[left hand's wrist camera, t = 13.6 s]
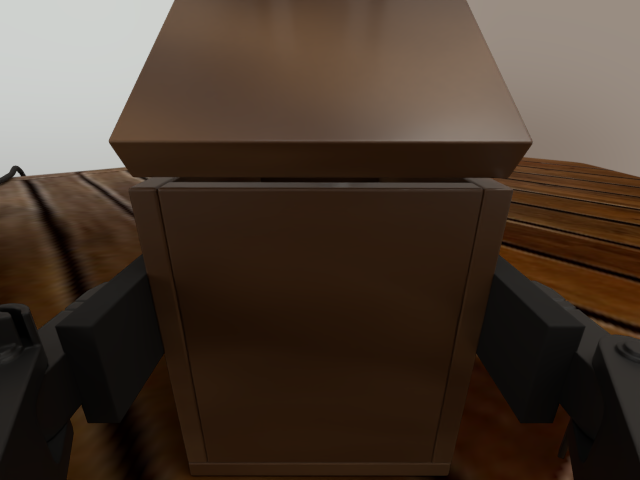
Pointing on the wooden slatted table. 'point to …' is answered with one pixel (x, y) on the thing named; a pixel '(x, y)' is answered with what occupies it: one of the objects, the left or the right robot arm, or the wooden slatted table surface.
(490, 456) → the wooden slatted table surface
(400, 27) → the lid
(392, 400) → the chest
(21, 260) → the wooden slatted table surface
